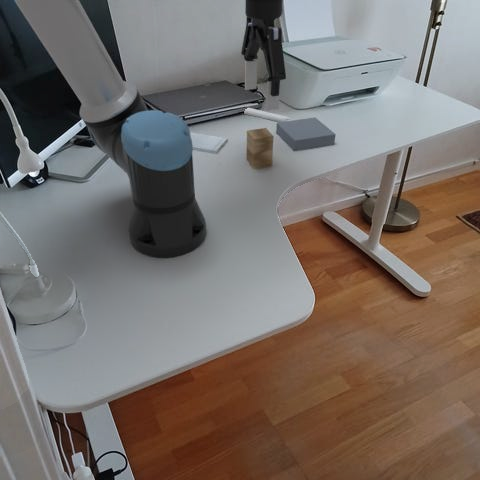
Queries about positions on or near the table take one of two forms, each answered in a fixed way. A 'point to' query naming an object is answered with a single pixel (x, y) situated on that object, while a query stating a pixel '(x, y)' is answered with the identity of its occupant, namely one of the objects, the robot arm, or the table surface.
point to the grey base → (305, 134)
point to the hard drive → (207, 143)
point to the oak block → (259, 148)
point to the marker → (266, 115)
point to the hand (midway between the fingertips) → (261, 98)
